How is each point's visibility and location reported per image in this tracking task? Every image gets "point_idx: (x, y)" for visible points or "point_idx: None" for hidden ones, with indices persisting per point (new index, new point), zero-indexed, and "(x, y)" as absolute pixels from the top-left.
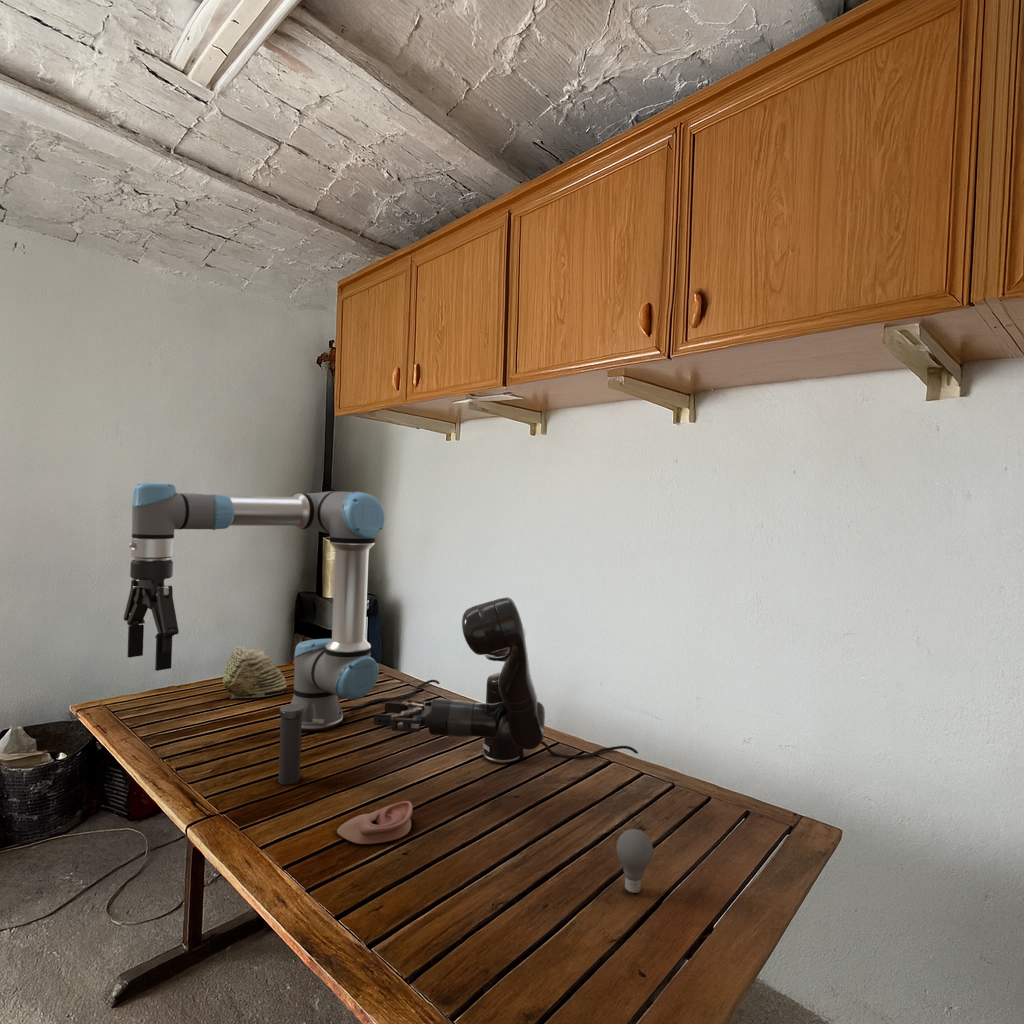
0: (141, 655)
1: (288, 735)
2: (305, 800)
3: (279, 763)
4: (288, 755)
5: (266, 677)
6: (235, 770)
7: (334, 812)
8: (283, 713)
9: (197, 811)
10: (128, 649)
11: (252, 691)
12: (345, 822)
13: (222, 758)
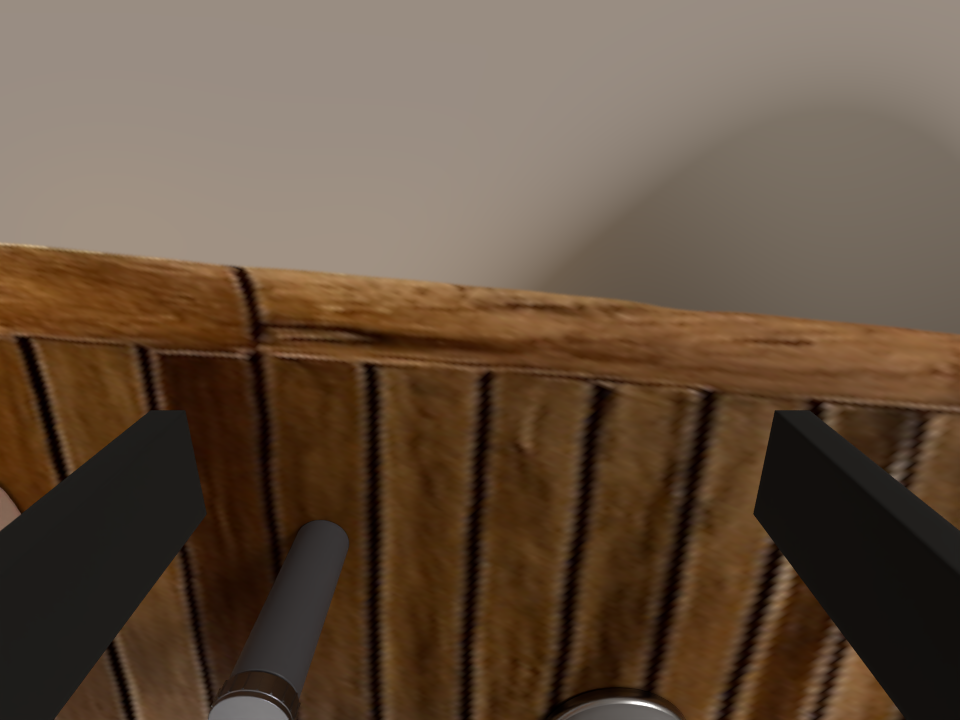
0: (756, 505)
1: (253, 630)
2: None
3: (313, 555)
4: (274, 583)
5: None
6: (476, 486)
7: None
8: (239, 687)
9: (304, 317)
10: (835, 448)
11: None
12: (4, 511)
13: (577, 498)
